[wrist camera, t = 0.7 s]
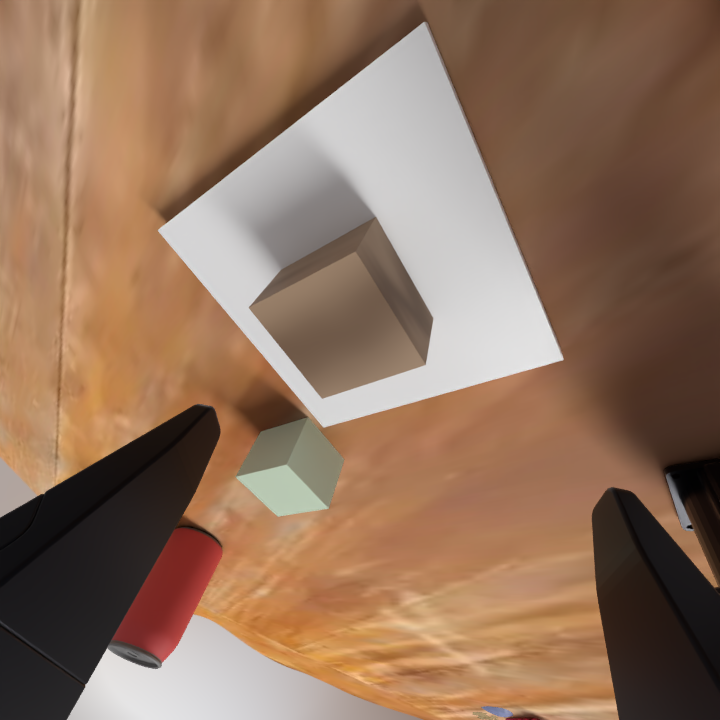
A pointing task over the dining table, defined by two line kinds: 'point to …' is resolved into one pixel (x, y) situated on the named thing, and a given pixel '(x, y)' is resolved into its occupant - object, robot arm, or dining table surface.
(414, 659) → the dining table surface
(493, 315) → the build plate
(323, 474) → the green block
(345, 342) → the walnut block
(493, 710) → the toy pieces
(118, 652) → the beer can
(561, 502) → the dining table surface
